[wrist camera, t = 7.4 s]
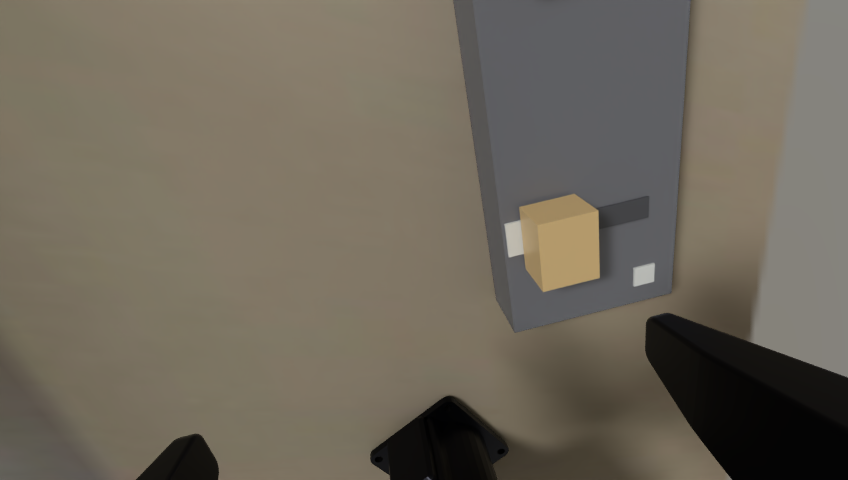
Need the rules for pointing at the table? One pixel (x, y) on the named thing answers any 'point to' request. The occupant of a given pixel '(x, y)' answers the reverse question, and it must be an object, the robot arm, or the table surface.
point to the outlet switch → (560, 241)
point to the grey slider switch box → (578, 138)
